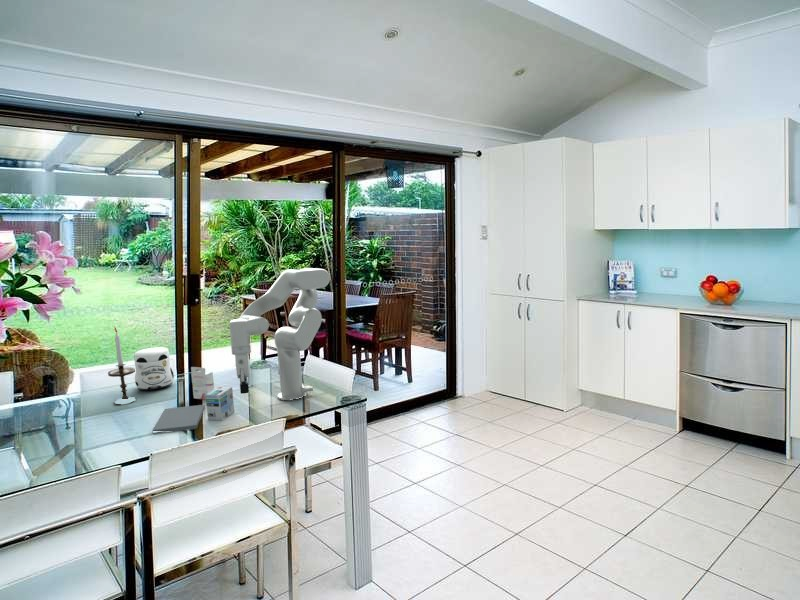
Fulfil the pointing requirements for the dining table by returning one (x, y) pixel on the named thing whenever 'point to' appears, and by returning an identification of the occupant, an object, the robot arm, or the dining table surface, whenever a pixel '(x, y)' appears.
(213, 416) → the light bulb box
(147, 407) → the dining table surface
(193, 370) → the ink cartridge box
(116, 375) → the candlestick
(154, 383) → the milk container
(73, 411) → the dining table surface
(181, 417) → the mat
